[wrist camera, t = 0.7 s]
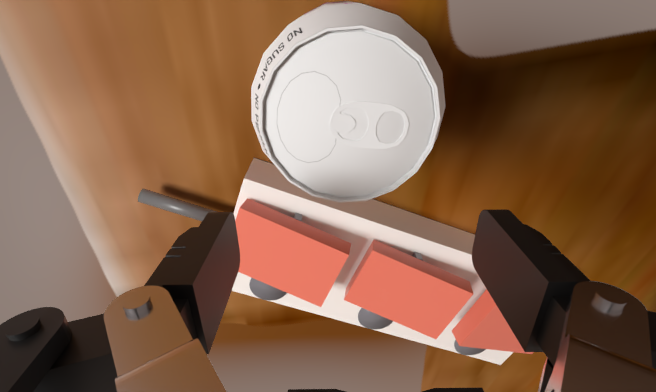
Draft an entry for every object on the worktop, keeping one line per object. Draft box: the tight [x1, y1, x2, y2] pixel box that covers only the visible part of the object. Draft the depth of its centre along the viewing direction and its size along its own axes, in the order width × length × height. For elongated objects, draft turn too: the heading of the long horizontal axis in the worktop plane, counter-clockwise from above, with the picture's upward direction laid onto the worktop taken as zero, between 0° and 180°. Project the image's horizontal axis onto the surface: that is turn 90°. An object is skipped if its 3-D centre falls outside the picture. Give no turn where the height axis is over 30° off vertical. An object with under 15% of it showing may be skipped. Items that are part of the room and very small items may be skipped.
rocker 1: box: [235, 198, 351, 307], centre depth 28 cm, size 6×9×2 cm, turn 69°
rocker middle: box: [344, 239, 473, 339], centre depth 30 cm, size 6×9×2 cm, turn 69°
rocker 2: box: [452, 289, 533, 354], centre depth 32 cm, size 6×9×2 cm, turn 69°
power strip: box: [138, 158, 513, 365], centre depth 33 cm, size 12×40×5 cm, turn 69°
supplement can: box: [251, 1, 445, 202], centre depth 20 cm, size 8×8×15 cm
